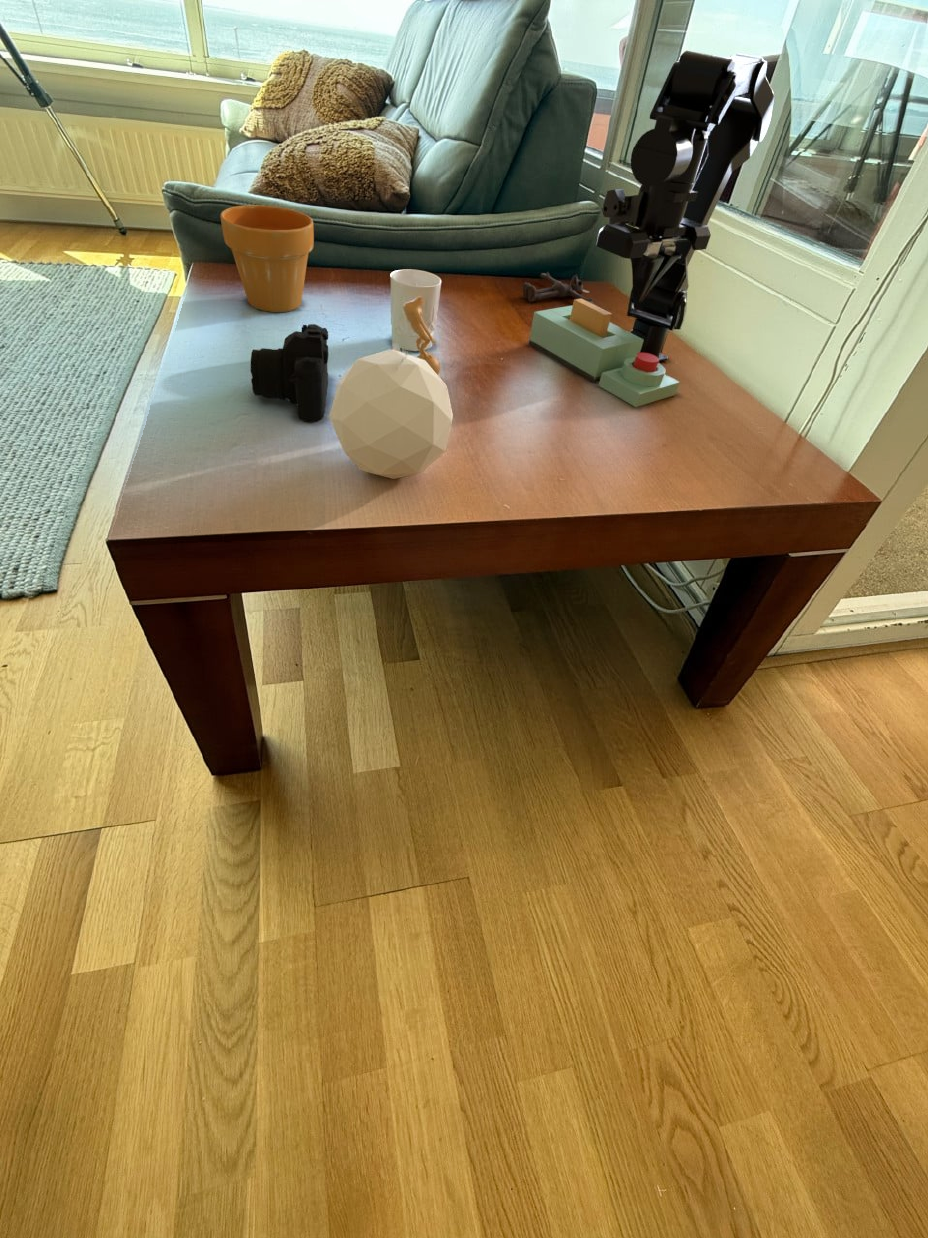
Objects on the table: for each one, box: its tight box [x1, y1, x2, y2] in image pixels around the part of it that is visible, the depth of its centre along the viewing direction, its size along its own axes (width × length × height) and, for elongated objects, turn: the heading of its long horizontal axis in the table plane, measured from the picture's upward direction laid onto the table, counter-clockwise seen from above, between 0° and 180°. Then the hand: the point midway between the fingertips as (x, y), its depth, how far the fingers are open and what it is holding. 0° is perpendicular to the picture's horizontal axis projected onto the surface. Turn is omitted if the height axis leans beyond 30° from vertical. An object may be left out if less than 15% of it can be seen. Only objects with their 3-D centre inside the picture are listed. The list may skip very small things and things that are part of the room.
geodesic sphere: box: [328, 342, 454, 480], centre depth 72 cm, size 15×14×14 cm
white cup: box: [389, 268, 443, 352], centre depth 101 cm, size 8×8×10 cm
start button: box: [633, 353, 660, 372], centre depth 98 cm, size 4×4×2 cm
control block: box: [598, 357, 681, 408], centre depth 100 cm, size 10×8×4 cm
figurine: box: [403, 296, 441, 376], centre depth 90 cm, size 8×6×12 cm
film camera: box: [250, 323, 329, 423], centre depth 83 cm, size 15×10×9 cm, turn 5°
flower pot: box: [220, 204, 315, 313], centre depth 105 cm, size 14×14×13 cm
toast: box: [570, 298, 613, 338], centre depth 105 cm, size 2×7×8 cm, turn 38°
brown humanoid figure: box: [522, 271, 596, 305], centre depth 128 cm, size 18×4×14 cm
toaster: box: [527, 304, 644, 384], centre depth 106 cm, size 10×16×6 cm, turn 38°
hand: (636, 300), depth 96 cm, fingers closed
